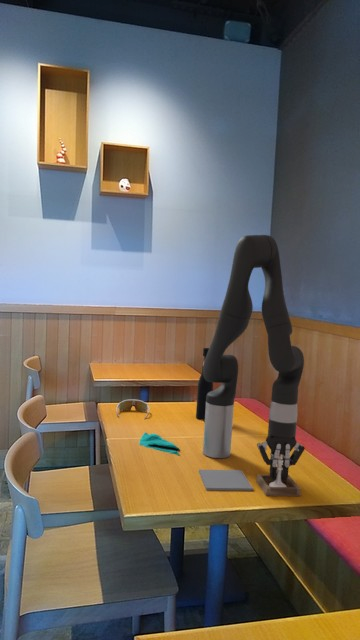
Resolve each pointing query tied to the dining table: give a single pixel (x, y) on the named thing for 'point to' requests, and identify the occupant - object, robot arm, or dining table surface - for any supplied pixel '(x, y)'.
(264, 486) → the square frame
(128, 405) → the sunglasses
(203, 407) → the wine bottle
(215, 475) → the mat
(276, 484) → the chess piece
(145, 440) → the cloth
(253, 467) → the dining table surface
